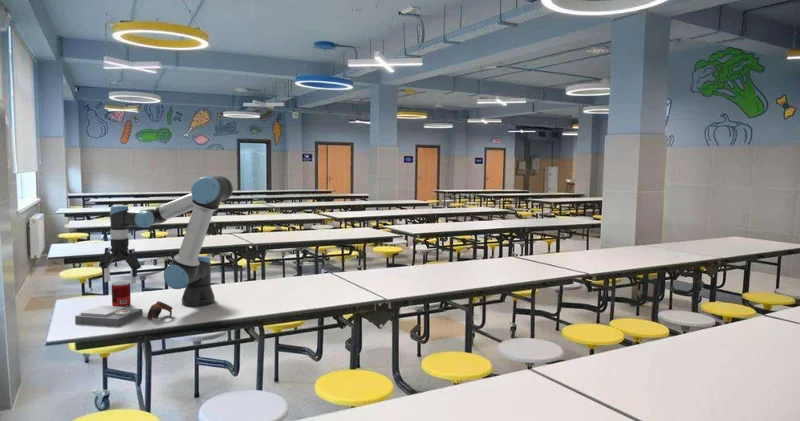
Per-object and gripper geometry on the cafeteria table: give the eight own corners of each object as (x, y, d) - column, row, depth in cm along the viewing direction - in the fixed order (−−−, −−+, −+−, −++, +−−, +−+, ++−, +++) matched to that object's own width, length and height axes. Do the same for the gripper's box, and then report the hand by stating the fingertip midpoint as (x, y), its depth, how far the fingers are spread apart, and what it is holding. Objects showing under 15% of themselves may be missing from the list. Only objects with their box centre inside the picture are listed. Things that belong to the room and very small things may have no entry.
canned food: (134, 303, 258) (133, 281, 257) (124, 308, 250) (123, 284, 249) (119, 303, 258) (118, 280, 258) (108, 307, 251) (107, 284, 250)
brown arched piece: (147, 316, 239) (157, 299, 241) (167, 325, 240) (177, 308, 242) (141, 317, 227) (151, 299, 229) (161, 326, 228) (171, 308, 230)
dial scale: (142, 315, 238) (142, 306, 238) (118, 326, 222) (118, 316, 222) (102, 312, 241) (101, 304, 241) (75, 323, 226) (75, 313, 225)
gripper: (148, 238, 253) (149, 282, 255) (101, 235, 257) (102, 279, 259) (138, 240, 246) (139, 286, 248) (90, 237, 250) (90, 282, 251)
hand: (120, 282), depth 253 cm, fingers open, 13 cm apart
